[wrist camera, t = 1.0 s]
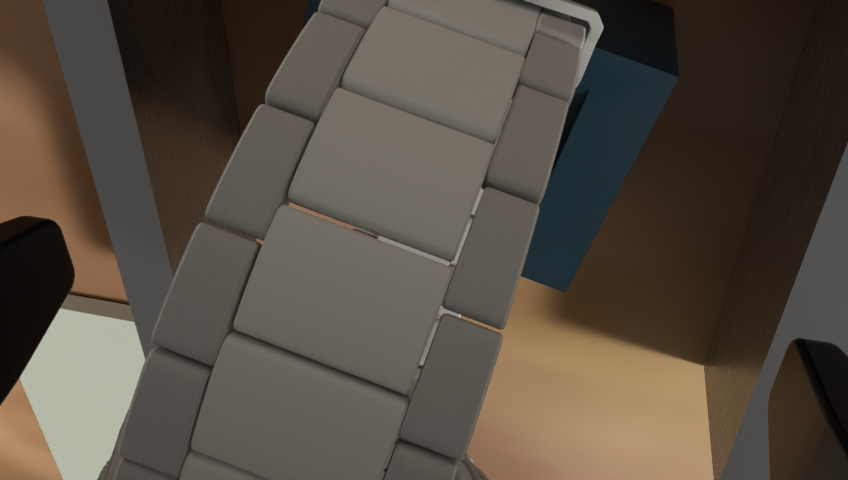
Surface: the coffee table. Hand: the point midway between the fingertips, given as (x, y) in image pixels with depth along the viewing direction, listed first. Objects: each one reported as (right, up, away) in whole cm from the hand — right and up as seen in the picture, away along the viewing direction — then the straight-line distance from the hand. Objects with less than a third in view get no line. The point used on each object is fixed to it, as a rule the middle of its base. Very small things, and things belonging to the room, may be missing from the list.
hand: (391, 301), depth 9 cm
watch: (+2, +4, +6) cm, 7 cm away
